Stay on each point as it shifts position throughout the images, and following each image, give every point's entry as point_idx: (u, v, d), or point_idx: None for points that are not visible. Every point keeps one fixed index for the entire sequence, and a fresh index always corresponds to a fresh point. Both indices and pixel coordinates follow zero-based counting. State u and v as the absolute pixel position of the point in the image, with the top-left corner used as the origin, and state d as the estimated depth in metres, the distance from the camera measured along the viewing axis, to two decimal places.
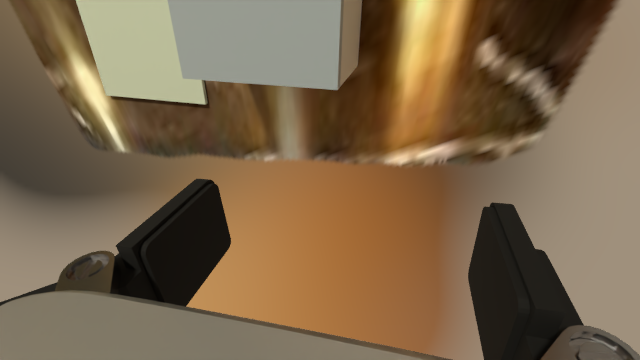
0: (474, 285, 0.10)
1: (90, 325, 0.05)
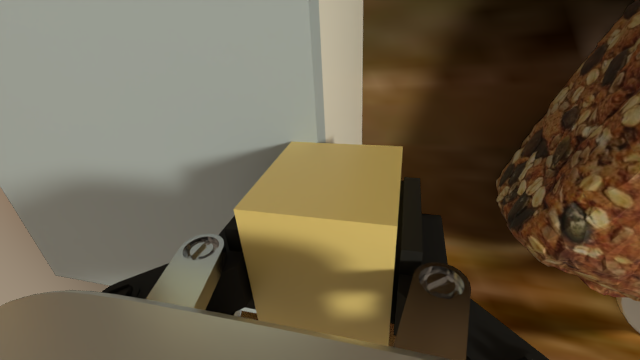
0: None
1: (90, 325, 0.05)
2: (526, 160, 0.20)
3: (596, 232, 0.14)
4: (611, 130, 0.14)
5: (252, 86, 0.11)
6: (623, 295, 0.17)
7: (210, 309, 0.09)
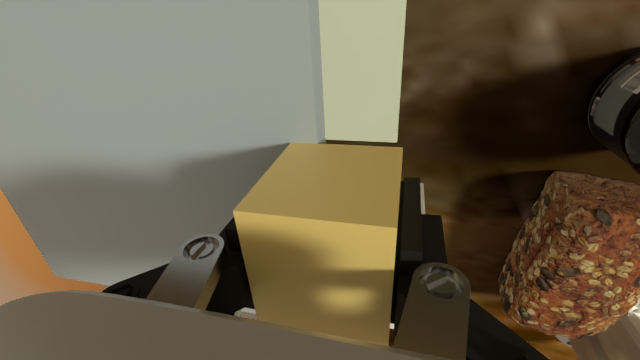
0: None
1: (90, 325, 0.05)
2: (507, 273, 0.43)
3: (533, 315, 0.37)
4: (526, 279, 0.37)
5: (252, 87, 0.11)
6: None
7: (210, 309, 0.09)
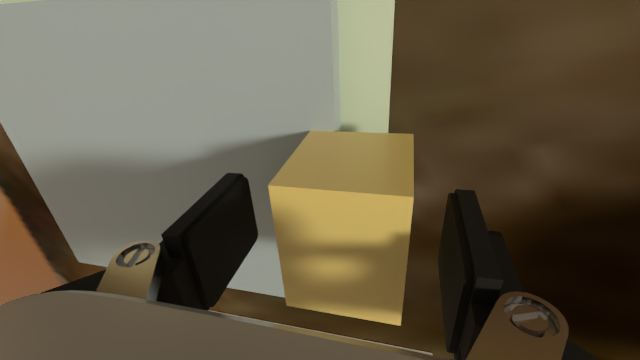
0: (441, 266, 0.11)
1: (90, 325, 0.05)
2: None
3: None
4: None
5: (276, 79, 0.12)
6: None
7: None
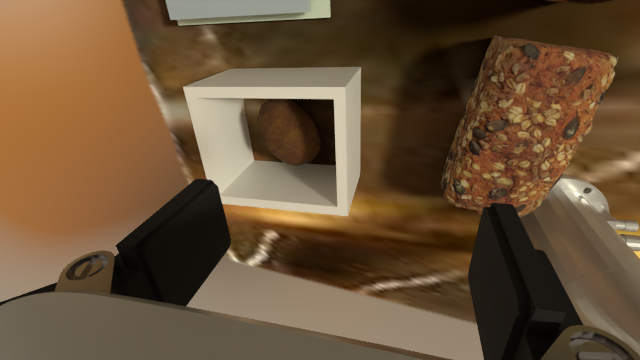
0: (474, 285, 0.10)
1: (90, 325, 0.05)
2: (449, 161, 0.41)
3: (466, 188, 0.36)
4: (460, 148, 0.35)
5: None
6: None
7: None
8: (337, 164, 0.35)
